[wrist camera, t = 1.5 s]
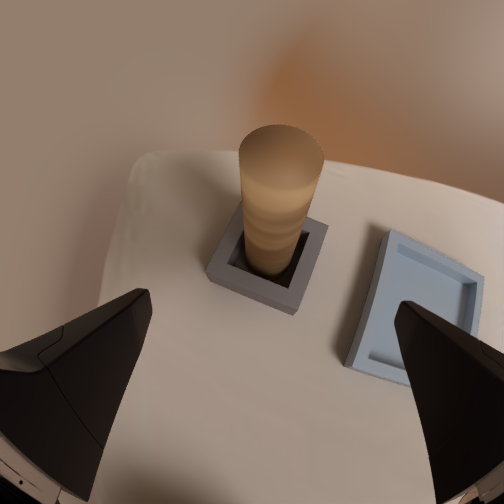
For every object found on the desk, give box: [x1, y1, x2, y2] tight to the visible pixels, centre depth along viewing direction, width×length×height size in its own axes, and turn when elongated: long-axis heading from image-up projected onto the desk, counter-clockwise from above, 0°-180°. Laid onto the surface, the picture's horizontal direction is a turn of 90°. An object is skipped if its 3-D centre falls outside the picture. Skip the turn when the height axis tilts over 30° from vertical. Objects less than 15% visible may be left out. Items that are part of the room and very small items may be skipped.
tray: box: [344, 229, 484, 387], centre depth 20 cm, size 12×12×2 cm
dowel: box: [239, 125, 324, 280], centre depth 17 cm, size 4×4×13 cm
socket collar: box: [205, 201, 328, 315], centre depth 22 cm, size 7×7×2 cm
